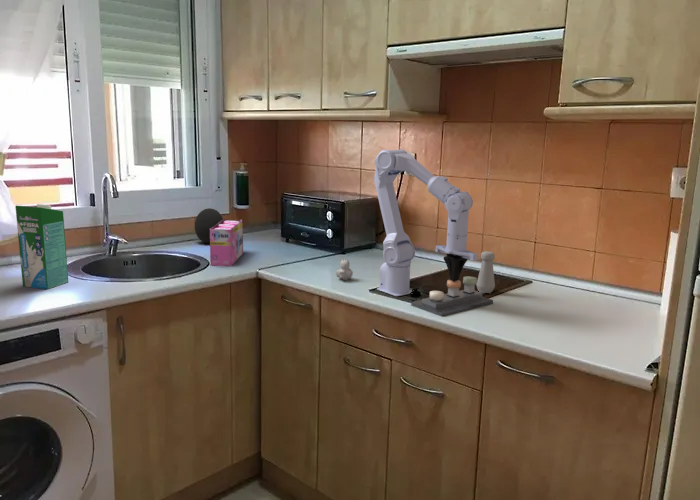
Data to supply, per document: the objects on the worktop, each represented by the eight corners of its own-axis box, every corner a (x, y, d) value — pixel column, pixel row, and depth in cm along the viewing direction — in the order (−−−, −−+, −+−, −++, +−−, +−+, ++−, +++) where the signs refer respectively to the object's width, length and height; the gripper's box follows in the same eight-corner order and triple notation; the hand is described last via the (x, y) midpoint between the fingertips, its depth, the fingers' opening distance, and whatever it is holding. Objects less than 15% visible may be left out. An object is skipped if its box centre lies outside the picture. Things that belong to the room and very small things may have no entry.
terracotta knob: (443, 294, 172) (444, 280, 171) (452, 292, 174) (453, 278, 173) (453, 297, 168) (454, 283, 168) (462, 295, 171) (463, 281, 170)
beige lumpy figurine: (354, 278, 199) (355, 255, 197) (349, 283, 192) (349, 259, 191) (339, 276, 200) (339, 254, 198) (333, 281, 194) (334, 257, 192)
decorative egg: (206, 239, 258) (205, 205, 254) (230, 242, 253) (229, 207, 250) (188, 244, 246) (187, 209, 243) (213, 247, 242) (212, 211, 239)
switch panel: (411, 305, 170) (411, 296, 169) (462, 293, 183) (462, 285, 182) (441, 316, 160) (442, 307, 160) (492, 303, 174) (493, 294, 173)
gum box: (224, 251, 234) (224, 218, 232) (244, 252, 234) (244, 219, 231) (209, 265, 211) (209, 228, 208) (231, 266, 211) (231, 229, 208)
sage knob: (459, 291, 176) (460, 277, 175) (468, 289, 178) (469, 275, 177) (469, 294, 173) (470, 280, 172) (478, 292, 175) (479, 278, 174)
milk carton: (68, 282, 184) (62, 203, 179) (47, 289, 176) (40, 207, 171) (45, 279, 187) (38, 201, 181) (22, 286, 178) (14, 205, 173)
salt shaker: (481, 288, 190) (484, 249, 187) (497, 291, 186) (500, 252, 184) (472, 292, 185) (475, 251, 183) (489, 295, 182) (492, 254, 179)
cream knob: (426, 306, 168) (426, 292, 167) (435, 303, 170) (436, 289, 169) (436, 309, 165) (437, 295, 164) (445, 307, 167) (446, 293, 166)
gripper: (429, 231, 171) (426, 276, 173) (467, 239, 159) (464, 287, 162) (445, 229, 175) (443, 273, 178) (484, 237, 164) (480, 284, 166)
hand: (454, 280), depth 170 cm, fingers closed
